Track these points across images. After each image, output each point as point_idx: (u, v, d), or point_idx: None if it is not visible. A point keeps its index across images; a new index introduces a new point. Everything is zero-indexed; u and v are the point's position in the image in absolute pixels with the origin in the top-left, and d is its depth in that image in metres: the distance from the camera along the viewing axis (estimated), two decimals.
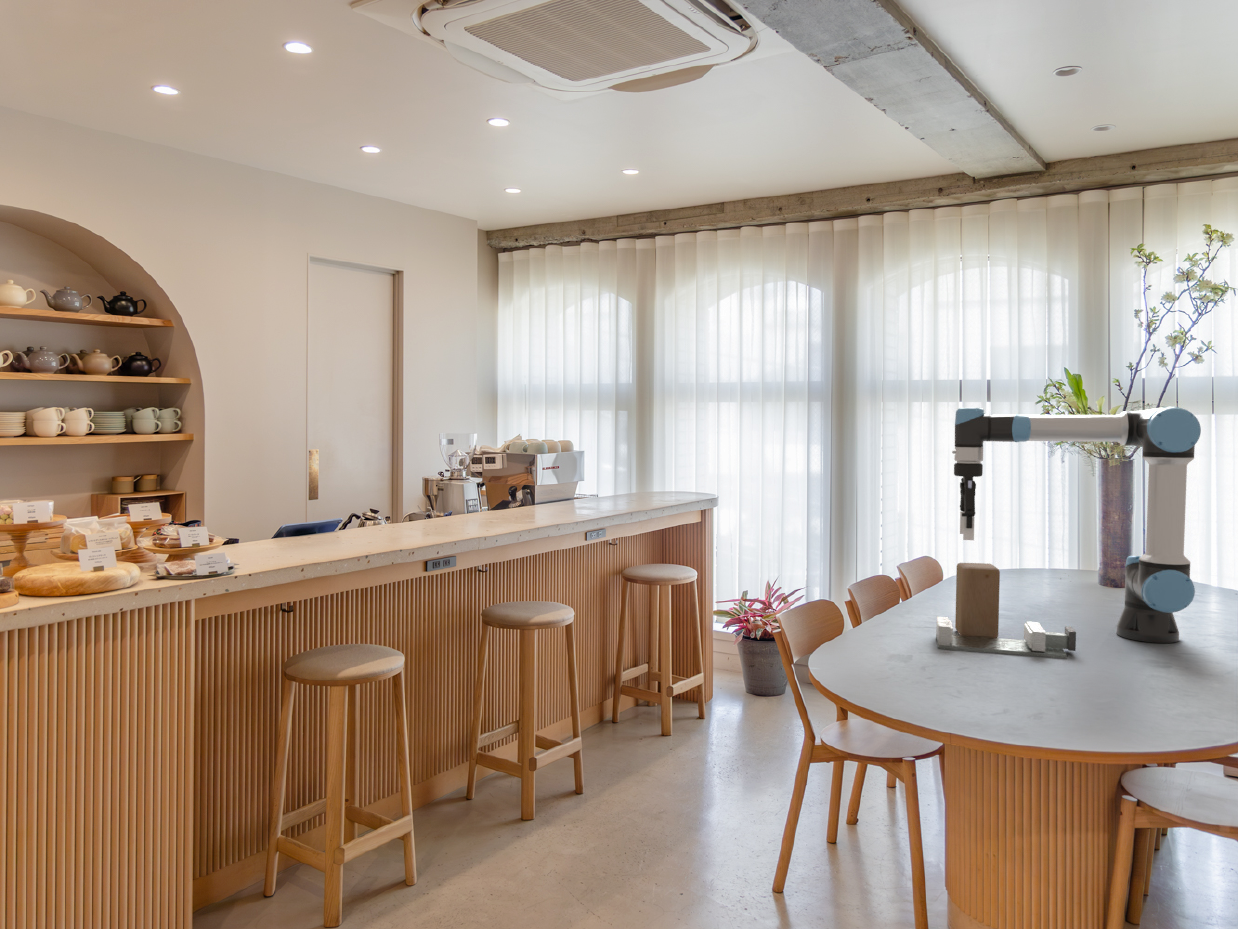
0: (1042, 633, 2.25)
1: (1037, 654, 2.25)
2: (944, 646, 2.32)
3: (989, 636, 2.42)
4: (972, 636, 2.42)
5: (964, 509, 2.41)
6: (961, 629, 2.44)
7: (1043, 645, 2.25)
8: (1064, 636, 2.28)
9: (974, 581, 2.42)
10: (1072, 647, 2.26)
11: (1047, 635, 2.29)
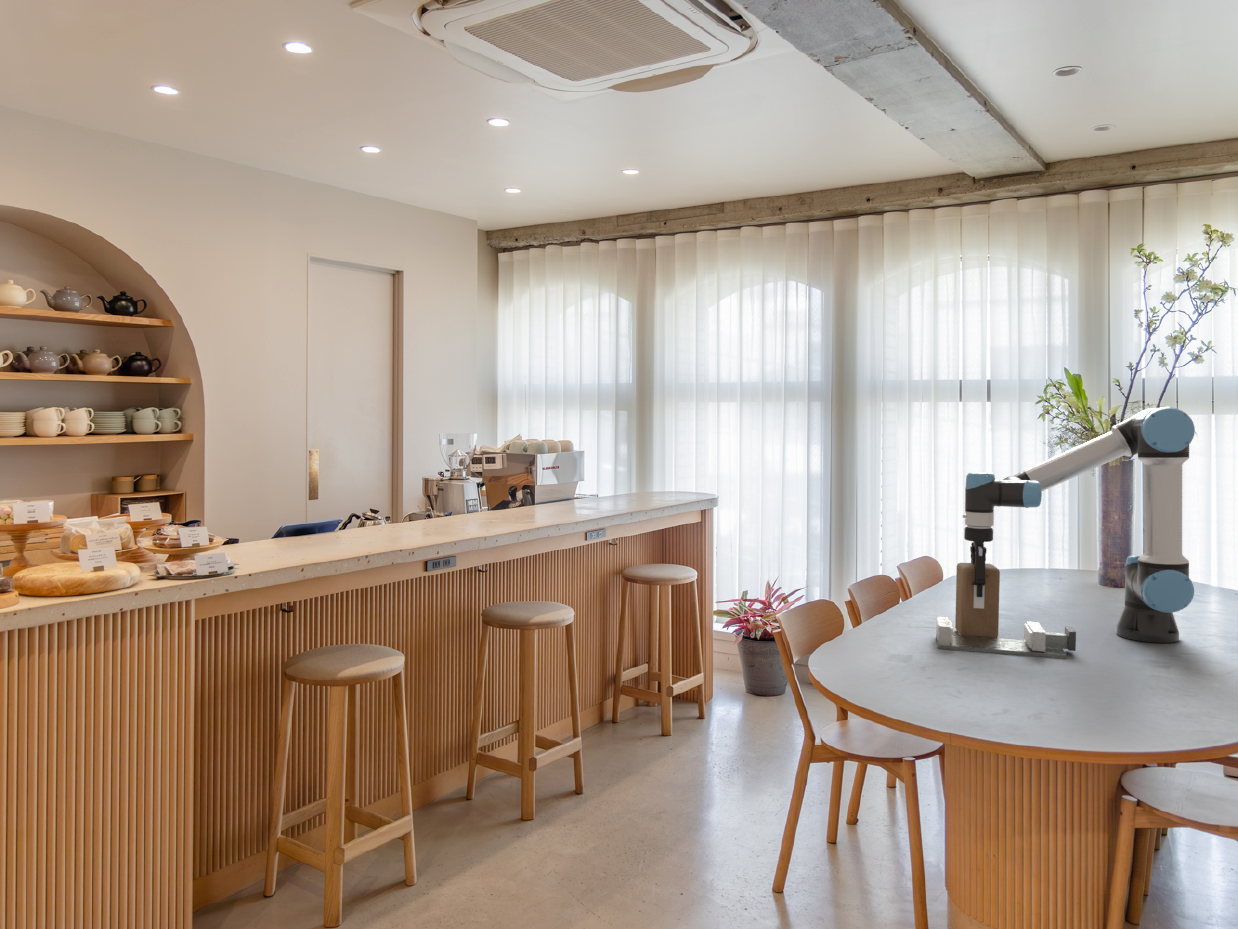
0: (1042, 633, 2.25)
1: (1037, 654, 2.25)
2: (944, 646, 2.32)
3: (989, 636, 2.42)
4: (972, 636, 2.42)
5: None
6: (961, 629, 2.44)
7: (1043, 645, 2.25)
8: (1064, 636, 2.28)
9: (974, 581, 2.42)
10: (1072, 647, 2.26)
11: (1047, 635, 2.29)
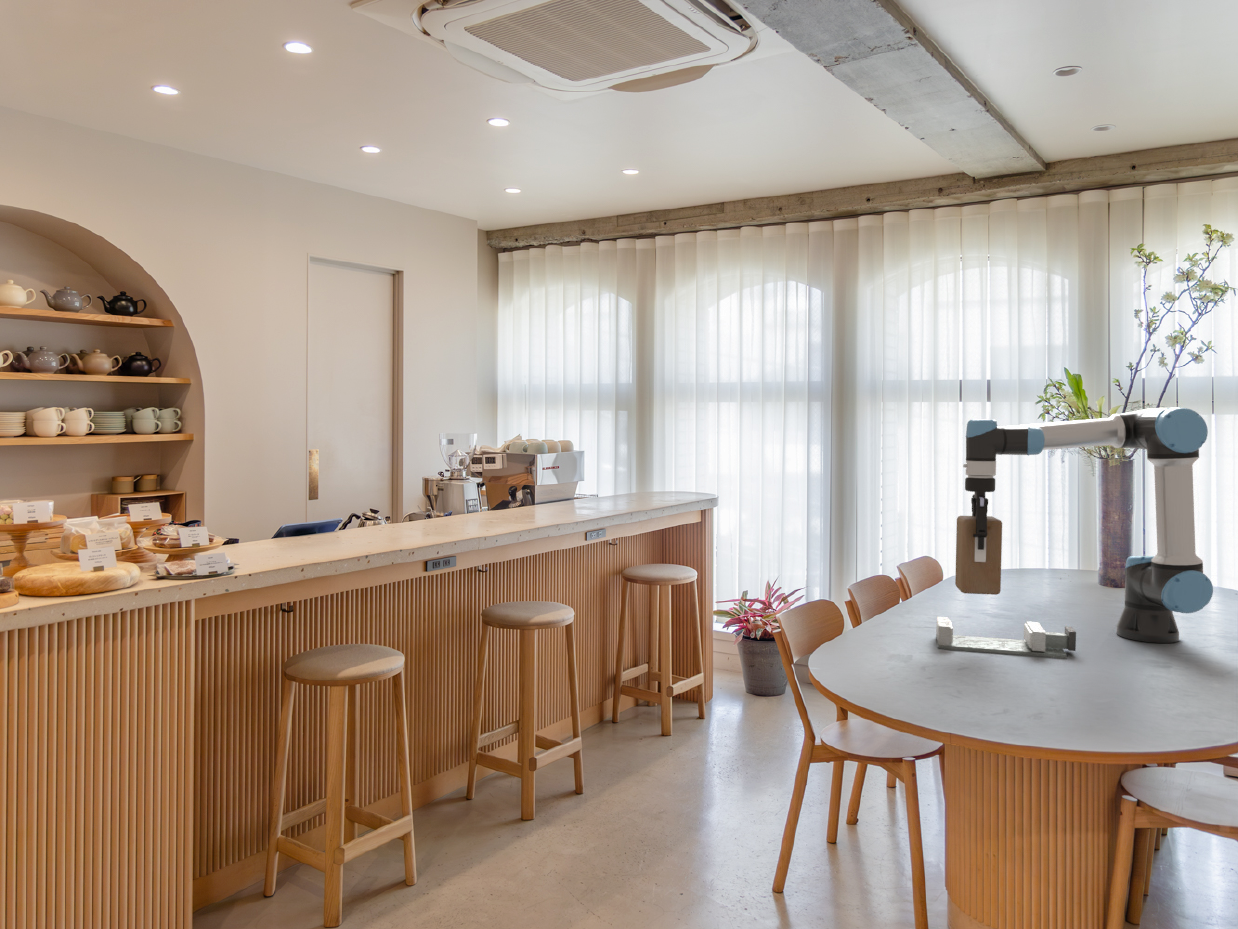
0: (1042, 633, 2.25)
1: (1037, 654, 2.25)
2: (944, 646, 2.32)
3: (991, 591, 2.30)
4: (972, 636, 2.42)
5: None
6: (961, 584, 2.32)
7: (1043, 645, 2.25)
8: (1064, 636, 2.28)
9: (975, 533, 2.30)
10: (1072, 647, 2.26)
11: (1047, 635, 2.29)
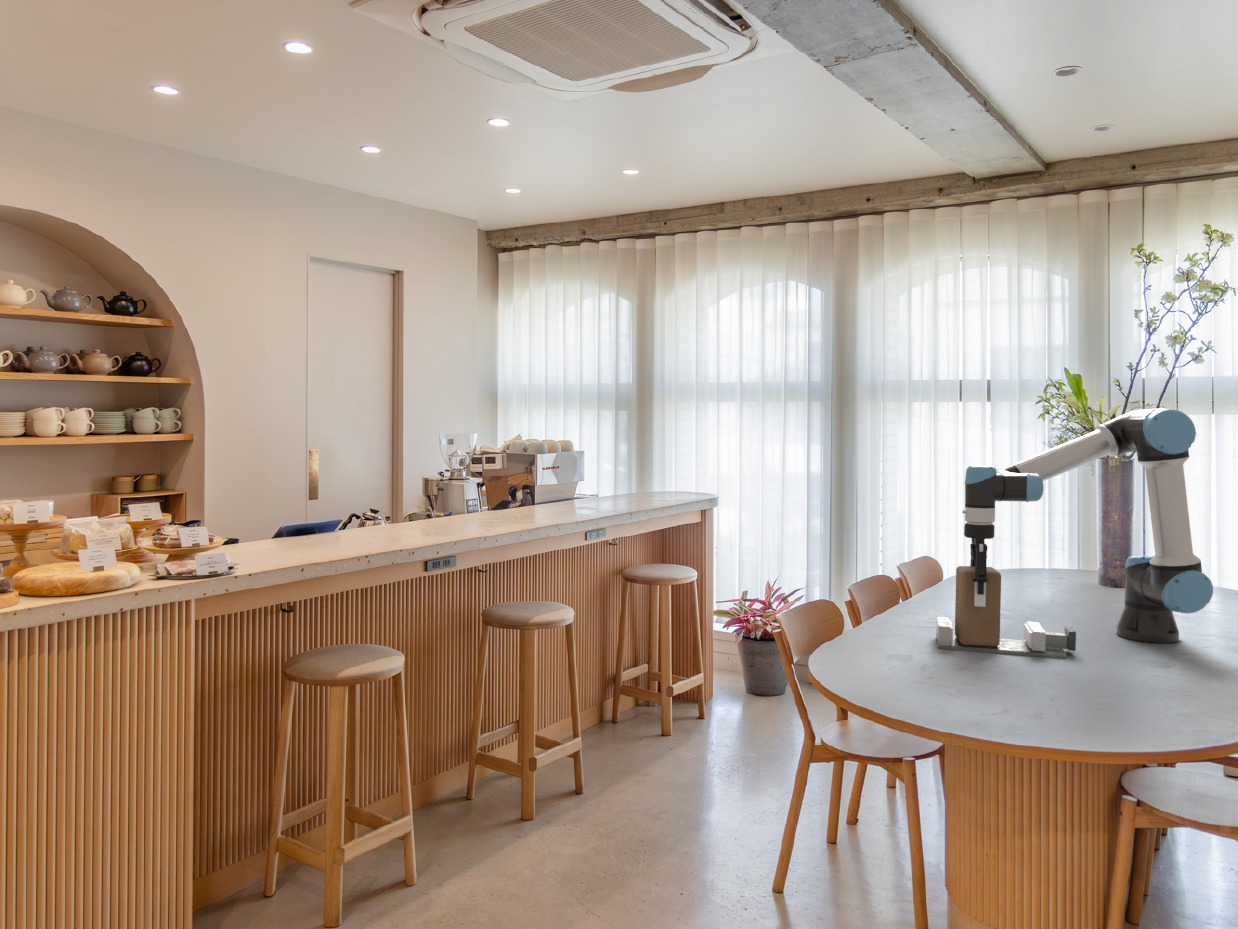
0: (1042, 633, 2.25)
1: (1037, 654, 2.25)
2: (944, 646, 2.32)
3: (990, 643, 2.30)
4: None
5: (975, 574, 2.29)
6: (960, 636, 2.32)
7: (1043, 645, 2.25)
8: (1064, 636, 2.28)
9: (974, 586, 2.30)
10: (1072, 647, 2.26)
11: (1047, 635, 2.29)
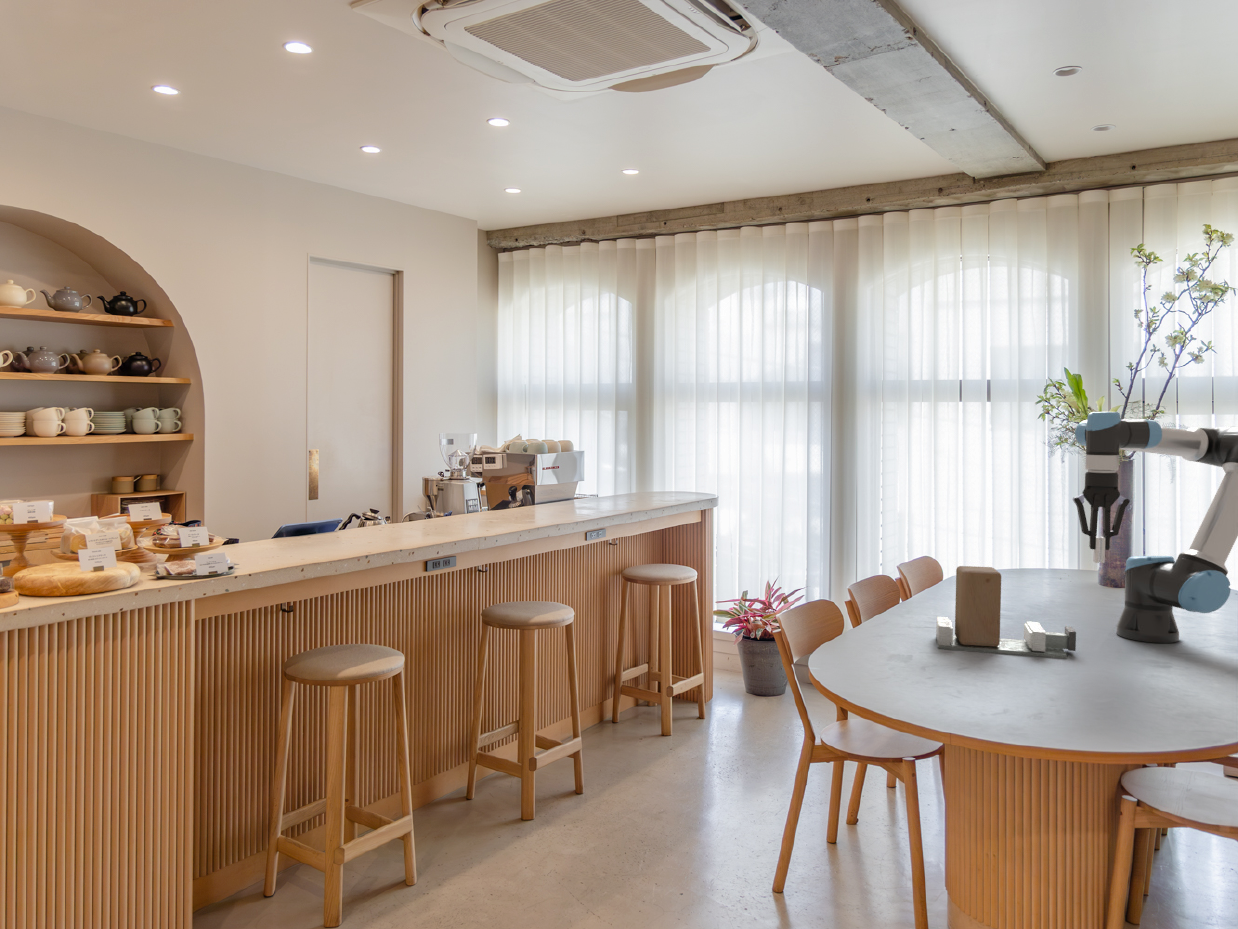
0: (1042, 633, 2.25)
1: (1037, 654, 2.25)
2: (944, 646, 2.32)
3: (990, 643, 2.30)
4: None
5: None
6: (960, 636, 2.32)
7: (1043, 645, 2.25)
8: (1064, 636, 2.28)
9: (974, 586, 2.30)
10: (1072, 647, 2.26)
11: (1047, 635, 2.29)
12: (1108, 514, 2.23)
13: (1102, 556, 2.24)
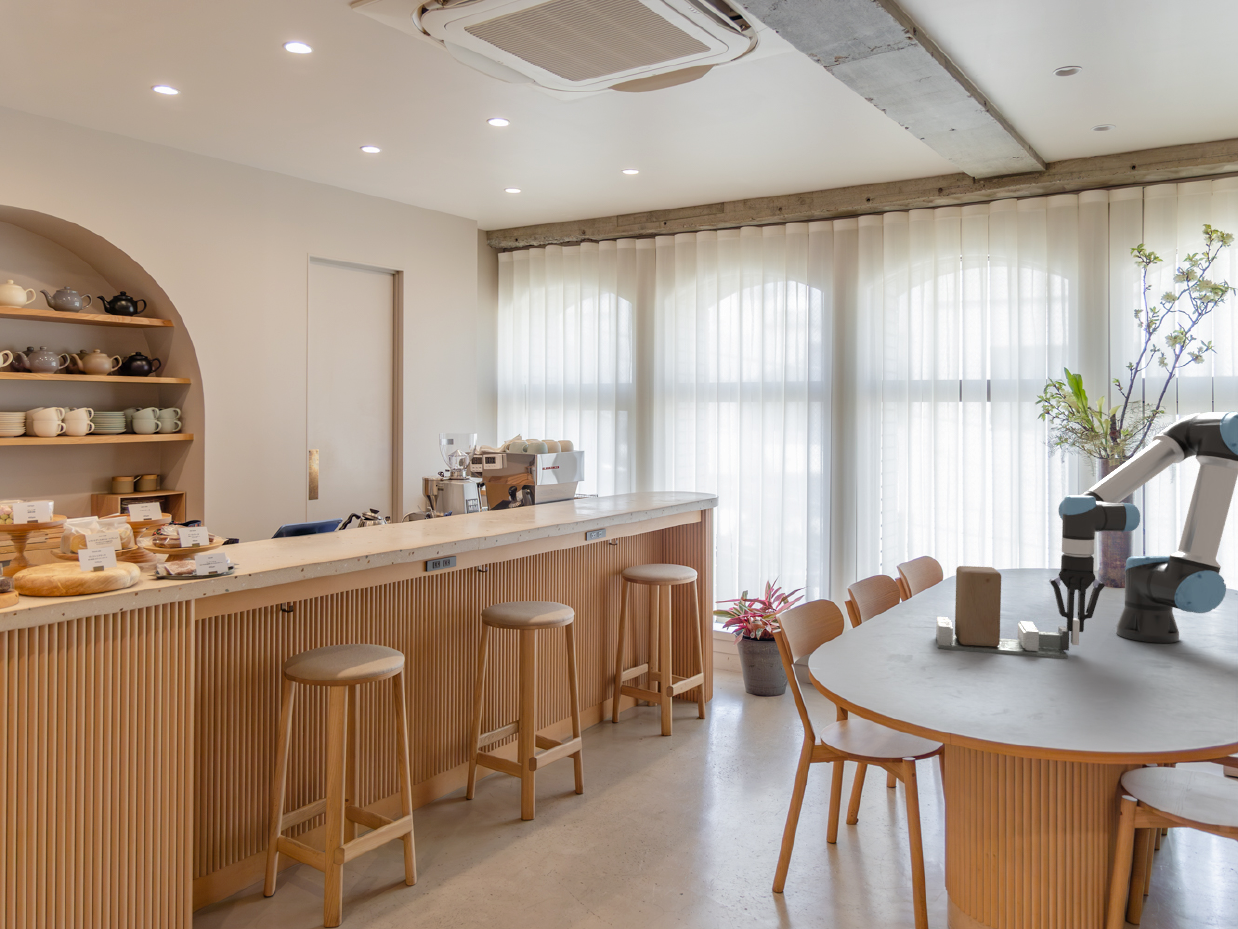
0: (1035, 633, 2.25)
1: (1037, 654, 2.25)
2: (944, 646, 2.32)
3: (990, 643, 2.30)
4: None
5: None
6: (960, 636, 2.32)
7: (1036, 645, 2.25)
8: (1057, 636, 2.28)
9: (974, 586, 2.30)
10: (1065, 647, 2.26)
11: (1040, 635, 2.29)
12: (1083, 597, 2.26)
13: (1076, 638, 2.27)
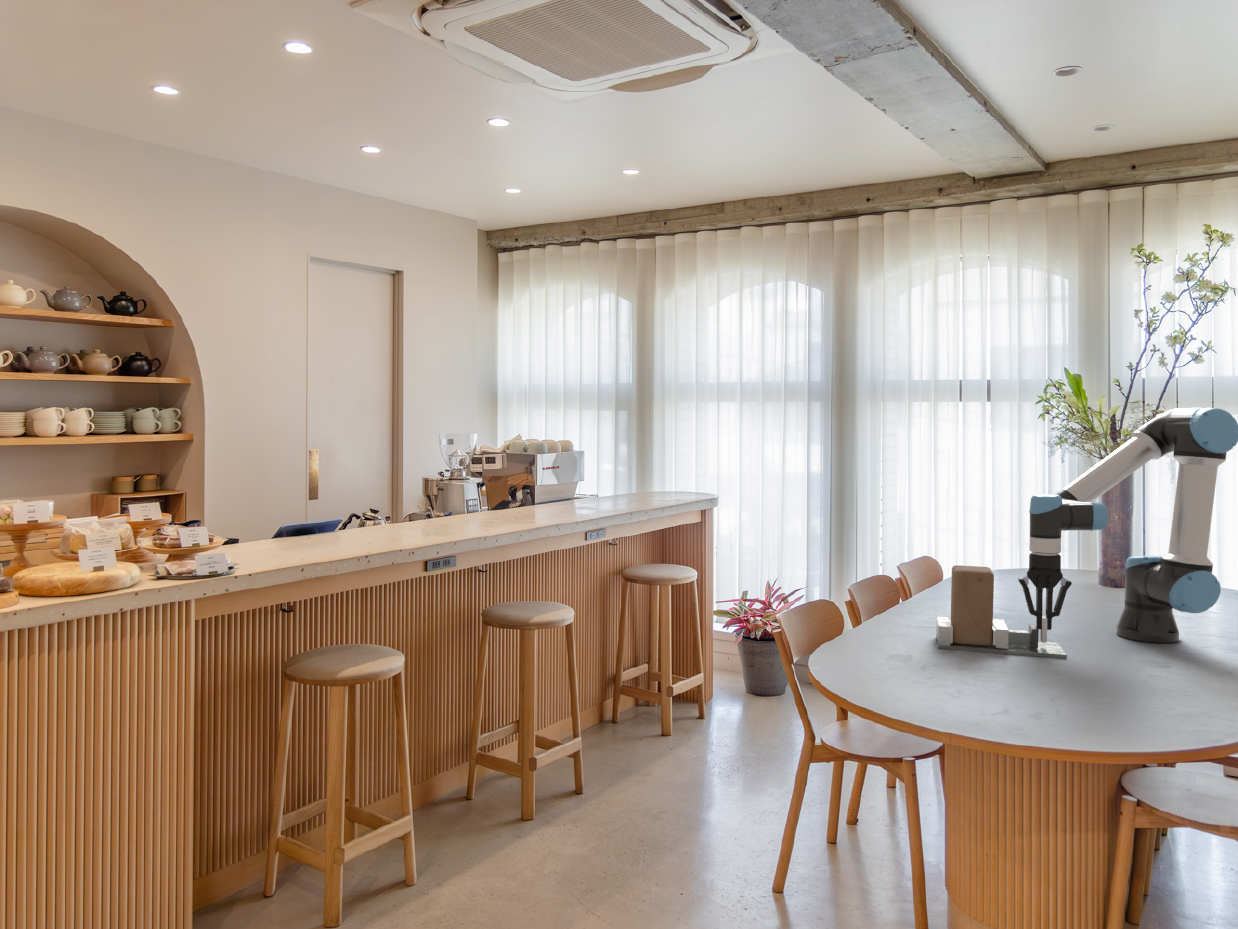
0: (1005, 630, 2.28)
1: (1037, 654, 2.25)
2: (944, 646, 2.32)
3: (982, 643, 2.31)
4: None
5: None
6: (953, 635, 2.34)
7: (1006, 642, 2.28)
8: (1027, 633, 2.30)
9: (966, 585, 2.31)
10: (1035, 644, 2.28)
11: (1010, 632, 2.31)
12: (1050, 595, 2.28)
13: (1044, 636, 2.29)
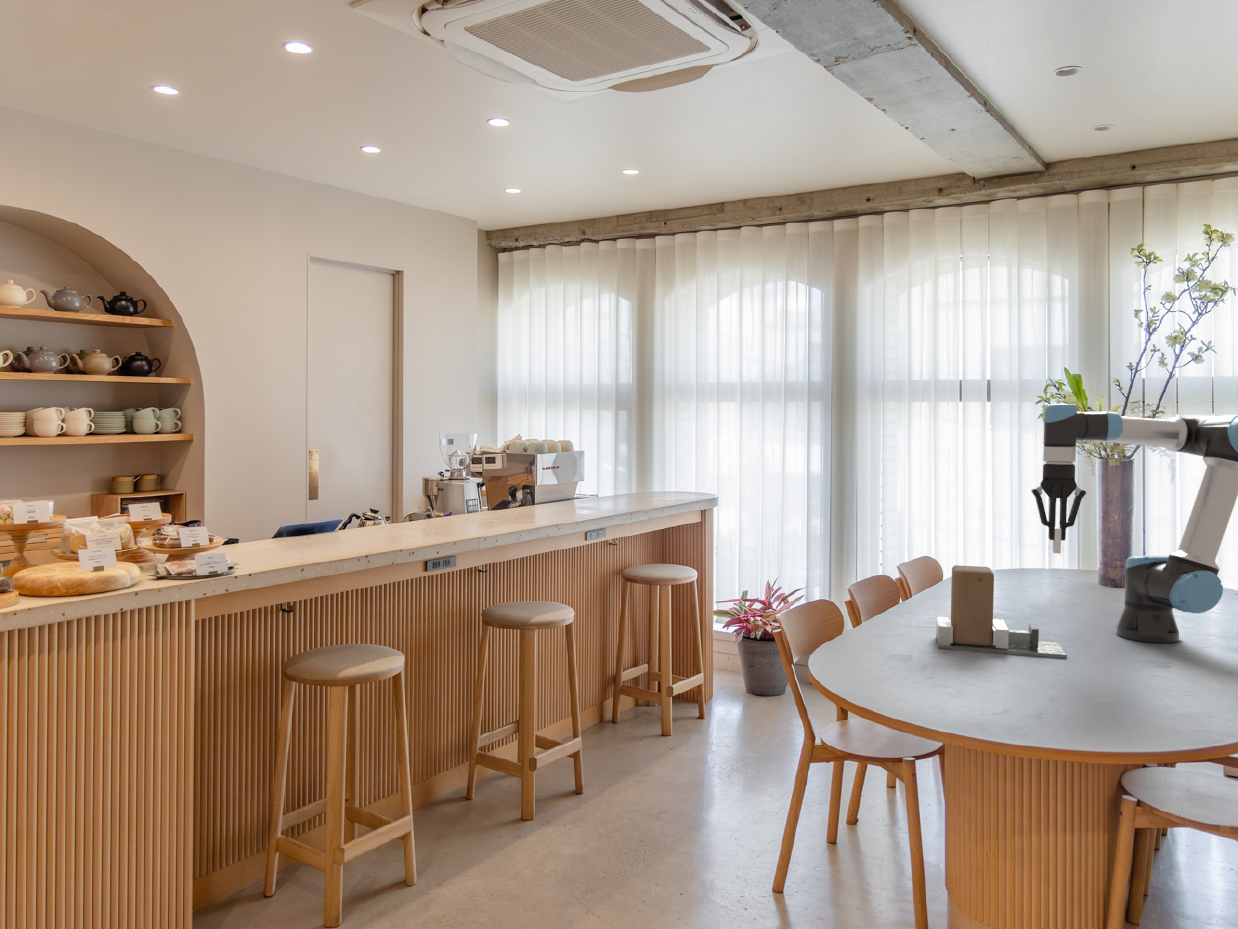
0: (1005, 630, 2.28)
1: (1037, 654, 2.25)
2: (944, 646, 2.32)
3: (982, 643, 2.31)
4: None
5: None
6: (953, 635, 2.34)
7: (1006, 642, 2.28)
8: (1027, 633, 2.30)
9: (966, 585, 2.31)
10: (1035, 644, 2.28)
11: (1011, 632, 2.31)
12: (1065, 505, 2.26)
13: (1058, 546, 2.27)
